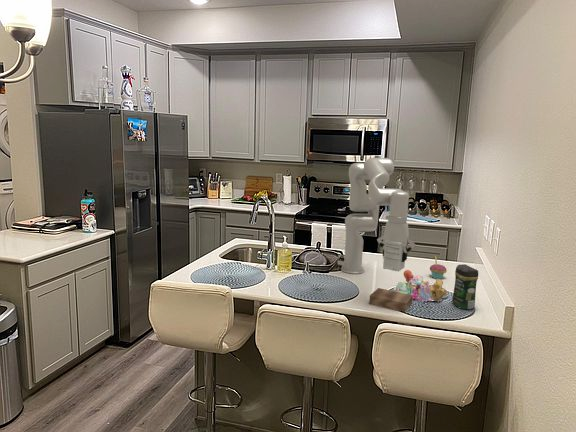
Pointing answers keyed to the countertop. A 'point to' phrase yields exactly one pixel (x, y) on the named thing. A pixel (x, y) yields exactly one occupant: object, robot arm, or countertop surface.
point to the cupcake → (437, 270)
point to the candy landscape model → (421, 288)
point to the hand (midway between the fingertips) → (394, 259)
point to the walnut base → (390, 299)
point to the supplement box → (393, 256)
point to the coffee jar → (465, 287)
